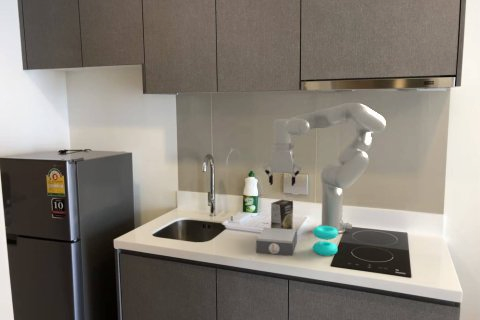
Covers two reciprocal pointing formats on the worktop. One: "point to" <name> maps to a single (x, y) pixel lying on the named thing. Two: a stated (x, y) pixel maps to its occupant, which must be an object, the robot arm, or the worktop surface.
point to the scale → (276, 241)
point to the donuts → (325, 246)
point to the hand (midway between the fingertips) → (282, 184)
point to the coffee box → (282, 214)
